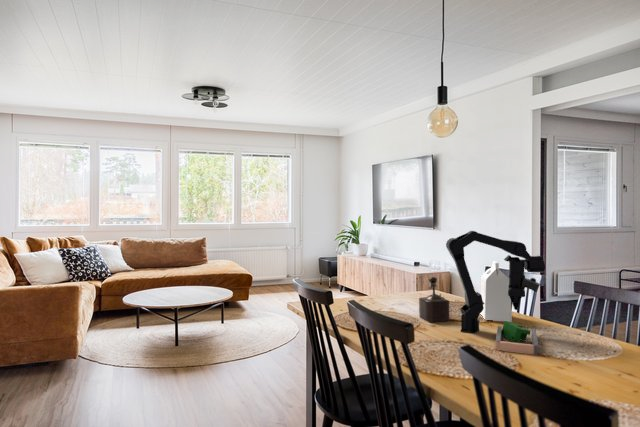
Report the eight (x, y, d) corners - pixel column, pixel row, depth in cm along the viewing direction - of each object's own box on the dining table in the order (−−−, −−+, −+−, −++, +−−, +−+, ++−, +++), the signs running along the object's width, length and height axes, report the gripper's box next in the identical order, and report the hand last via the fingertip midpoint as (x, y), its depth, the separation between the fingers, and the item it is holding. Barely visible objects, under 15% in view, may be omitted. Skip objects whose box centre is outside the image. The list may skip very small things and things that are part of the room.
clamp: (523, 353, 175) (533, 334, 171) (508, 349, 174) (518, 331, 171) (513, 333, 186) (523, 315, 182) (499, 329, 185) (508, 311, 182)
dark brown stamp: (451, 321, 205) (451, 281, 205) (429, 322, 203) (429, 282, 202) (434, 313, 221) (435, 276, 220) (413, 314, 218) (413, 277, 218)
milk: (511, 321, 204) (512, 263, 204) (484, 320, 206) (485, 263, 206) (505, 315, 216) (505, 260, 216) (479, 314, 218) (480, 260, 217)
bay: (495, 349, 165) (495, 341, 165) (497, 332, 186) (497, 325, 186) (538, 354, 159) (538, 346, 159) (535, 336, 181) (535, 329, 181)
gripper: (539, 276, 176) (539, 316, 176) (537, 270, 193) (536, 306, 193) (508, 274, 180) (507, 314, 181) (508, 268, 197) (508, 304, 198)
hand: (516, 309), depth 188 cm, fingers closed
